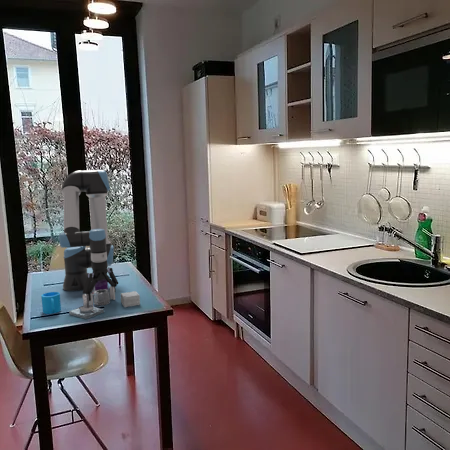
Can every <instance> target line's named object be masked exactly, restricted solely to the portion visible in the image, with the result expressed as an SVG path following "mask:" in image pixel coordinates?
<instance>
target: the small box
mask: <svg viewBox="0 0 450 450" xmlns="http://www.w3.org/2000/svg"><path fill="white" fill-rule="evenodd" d="M120 303H121V305H122V306H123V307H124V308H128V307H134V306H140V305H141V297H140V294H139V293H138V292H137V291H136V290H133V291H129V292H122V293H120Z"/></svg>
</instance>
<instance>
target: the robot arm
mask: <svg viewBox="0 0 450 450" xmlns="http://www.w3.org/2000/svg"><path fill="white" fill-rule="evenodd" d="M110 190H111V187H110V181H109V178H108V173H107V170H104V169H90V170H84V169H83V170H81V169H80V170H75V171H73V172H71V173H70V174H69V175H67V176H66V177H65V179H64V180H63V183H62V185H61V194H62V196H63V232H60V233H59V235H58V240H59V246H60V248H65V249H64V251H63V259H64V274H65V275H64V279H63V283H62V289H63V290H64V291H68V292H76V291H77V292H78V291H82V294H88V295H89V305H92V306H93V307H94V295H93V293H92V290H93V289H94V287H95V285H96V283H97V282H98V280H101V279H105V280H106V281H107V282H108V285H109V296H110V300H111V301H112V300H114V301H115V300H116V291H117V290H116V287H118V284H119V281H118V279H117V277H116V275H115V273H114V272H113V271H114V270H113V268H112V267H111V266H112V265H113V261H114V245H113V244H112V242H111V241H110V240H109V239H108V238H109V237H108V235H109V234H108V224H107V223H108V222H107V207H106V205H107V204H106V196H108V193H109V191H110ZM82 192H85V195H86V196H87V197H88V202H89V203H88V204H89V215H90V230H87V231H85V230H84V231H83V230H82V231H80V197H79V196H80V195H81V193H82ZM88 269H91V270H92V272H88ZM92 277H93V278H92Z"/></svg>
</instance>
